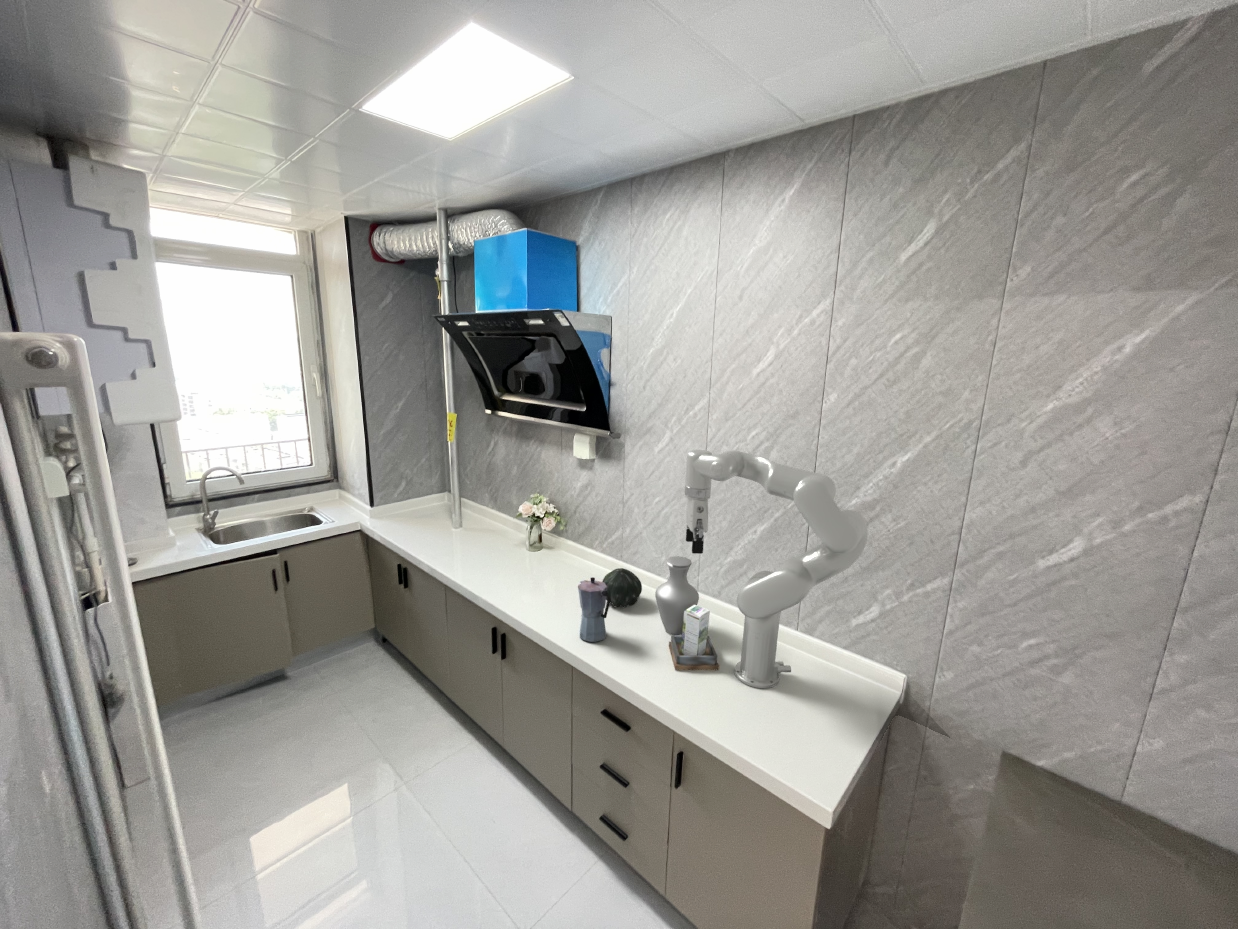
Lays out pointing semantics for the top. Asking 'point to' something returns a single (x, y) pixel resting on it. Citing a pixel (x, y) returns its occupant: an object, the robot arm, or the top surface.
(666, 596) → the vase
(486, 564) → the top surface
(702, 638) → the syrup box
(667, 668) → the top surface
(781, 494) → the robot arm
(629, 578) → the squash
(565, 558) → the top surface
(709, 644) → the dock
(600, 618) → the moka pot
